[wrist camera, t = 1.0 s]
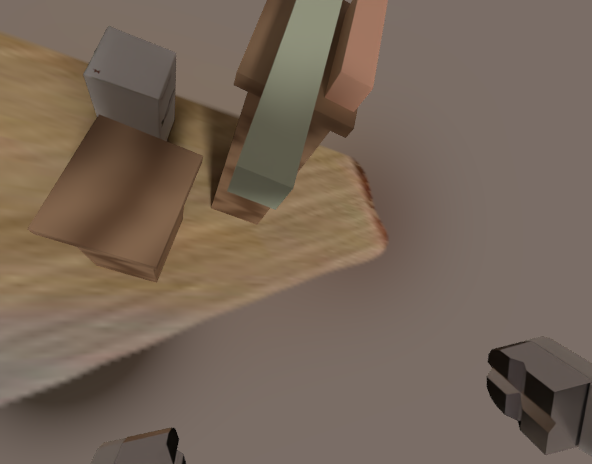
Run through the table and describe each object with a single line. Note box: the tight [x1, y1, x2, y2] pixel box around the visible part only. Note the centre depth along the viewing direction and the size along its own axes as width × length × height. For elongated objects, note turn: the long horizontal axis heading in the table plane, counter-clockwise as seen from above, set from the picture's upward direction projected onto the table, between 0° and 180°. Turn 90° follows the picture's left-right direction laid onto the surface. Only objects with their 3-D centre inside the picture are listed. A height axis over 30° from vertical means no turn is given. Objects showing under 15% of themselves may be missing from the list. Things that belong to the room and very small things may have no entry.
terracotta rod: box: [325, 0, 388, 112], centre depth 24 cm, size 2×10×2 cm, turn 166°
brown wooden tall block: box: [211, 0, 357, 224], centre depth 36 cm, size 9×13×26 cm
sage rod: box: [227, 0, 343, 210], centre depth 21 cm, size 3×21×3 cm, turn 166°
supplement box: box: [83, 26, 176, 141], centre depth 38 cm, size 7×7×13 cm
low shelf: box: [28, 114, 203, 282], centre depth 32 cm, size 9×11×16 cm
